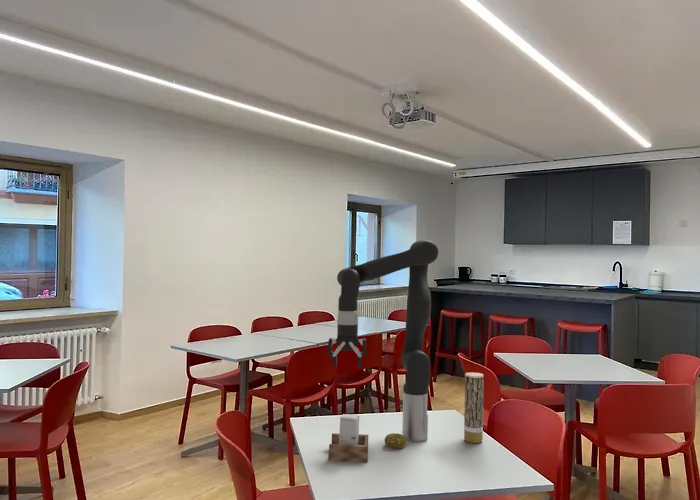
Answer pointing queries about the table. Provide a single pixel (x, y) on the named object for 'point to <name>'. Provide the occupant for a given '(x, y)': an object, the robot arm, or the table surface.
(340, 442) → the skincare box
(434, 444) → the table surface
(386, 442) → the sculpture
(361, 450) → the u rest
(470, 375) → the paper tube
